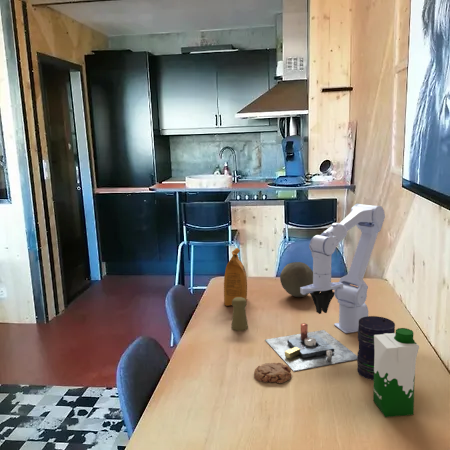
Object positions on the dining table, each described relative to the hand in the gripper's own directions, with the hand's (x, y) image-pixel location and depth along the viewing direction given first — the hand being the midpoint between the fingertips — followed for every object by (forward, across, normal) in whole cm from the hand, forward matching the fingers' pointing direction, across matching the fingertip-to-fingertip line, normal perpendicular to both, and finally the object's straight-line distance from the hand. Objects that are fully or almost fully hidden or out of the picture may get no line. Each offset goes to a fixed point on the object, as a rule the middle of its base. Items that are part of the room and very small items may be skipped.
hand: (321, 312), depth 148 cm
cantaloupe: (+10, -11, -41) cm, 43 cm away
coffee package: (+10, +15, -45) cm, 48 cm away
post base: (+10, +6, +4) cm, 12 cm away
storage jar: (+10, -4, +23) cm, 26 cm away
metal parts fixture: (+9, +9, +4) cm, 13 cm away
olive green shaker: (+10, +22, -20) cm, 31 cm away
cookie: (+10, +24, +15) cm, 30 cm away
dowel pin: (+10, +4, +13) cm, 17 cm away
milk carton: (+10, +2, +40) cm, 41 cm away
